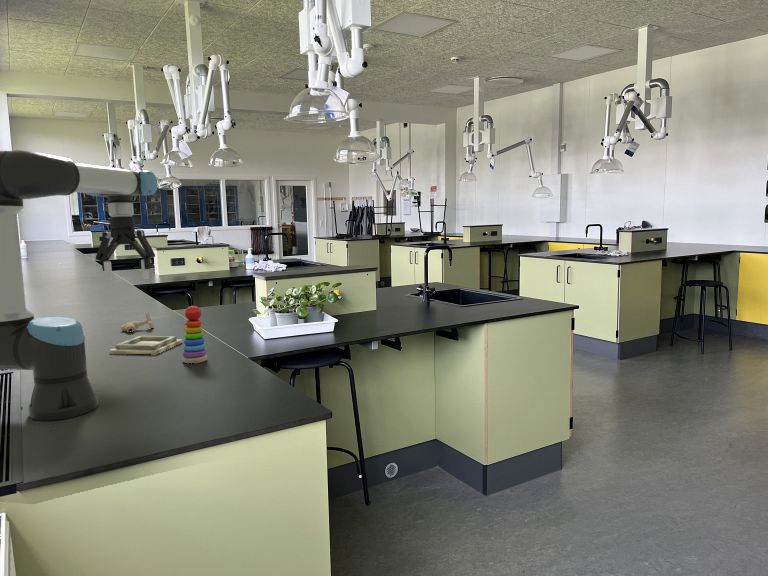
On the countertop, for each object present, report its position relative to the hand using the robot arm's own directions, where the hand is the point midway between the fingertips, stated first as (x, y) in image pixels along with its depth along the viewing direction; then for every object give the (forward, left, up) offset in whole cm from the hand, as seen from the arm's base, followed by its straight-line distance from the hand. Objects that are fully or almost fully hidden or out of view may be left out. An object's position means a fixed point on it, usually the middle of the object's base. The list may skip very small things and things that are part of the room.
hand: (127, 280), depth 187 cm
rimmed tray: (+15, +4, -27) cm, 31 cm away
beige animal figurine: (+44, +27, -28) cm, 59 cm away
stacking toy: (0, -23, -28) cm, 36 cm away
